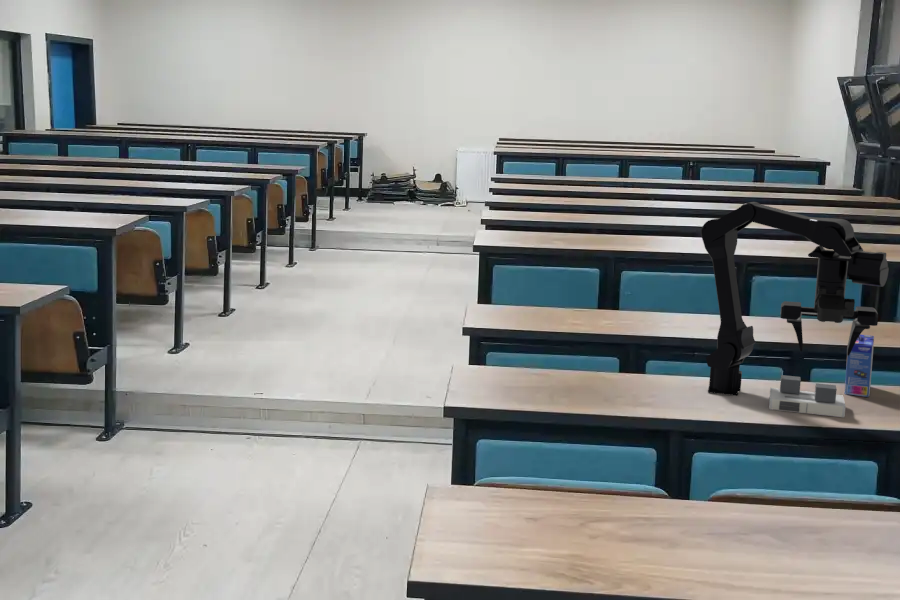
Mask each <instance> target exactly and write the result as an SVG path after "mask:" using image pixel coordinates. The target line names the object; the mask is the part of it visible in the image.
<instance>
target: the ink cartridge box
mask: <svg viewBox="0 0 900 600" xmlns="http://www.w3.org/2000/svg"><path fill="white" fill-rule="evenodd" d="M874 343H875V336H874V335H869V334H860V335H859V337H858V338H857V340H856V342H855V344H854V347H853V349H852V351H851V353H850V355H849V356H848V355H847V354H846V366H845V367H846V369H845V382H844V395H849V396H857V397H864V398H869V397H870V395H871V393H870V392H871V385H872V384H871V382H872V369H873V360H874V359H873V357H874Z"/></svg>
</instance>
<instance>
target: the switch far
mask: <svg viewBox="0 0 900 600" xmlns="http://www.w3.org/2000/svg"><path fill="white" fill-rule="evenodd" d="M801 382H802V380H801V376H796V375H795V376H794V375H793V376H792V375H783V374H780V384H779V389H780V392H785V393H794V394H800V391H801Z"/></svg>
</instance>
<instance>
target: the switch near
mask: <svg viewBox="0 0 900 600" xmlns="http://www.w3.org/2000/svg"><path fill="white" fill-rule="evenodd" d="M837 390H838V389H837V385H836V384H828V383H815V388H814V392H815V396H814V397H815V401H822V402H832V403H835V400H836V395H837Z"/></svg>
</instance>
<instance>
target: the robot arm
mask: <svg viewBox="0 0 900 600" xmlns="http://www.w3.org/2000/svg"><path fill="white" fill-rule="evenodd" d="M752 223H755V224H759V225H763V226H766V227H770V228H773V229H777V230H781V231H784V232H788V233H791V234H795V235H799V236H802V237H804V238H805V239H807V240H808V241H809V242H812V243H813V244H815V245H817V246H816V247H815V248H814V249H813V250H812V251H811V252H809V253H807V255H808V257H809V258H814V259H815V258H816V259H818V262H817V271H816V272H817V274H816V282H815V293H814V303H813V304H814V305H813V307H812V306H811V307H809V306H802V302H800V301H787V300H784V301H782V302H781V304H780V312H779V313H780V319H783V320H786V323H788V324H791V325H792V327H793V329H794V332H795V335H796V338H797V343H798V347H799V352H803V348H804V341H803V339H804V338H803V322H802V316H804V317H805V316H806V317H817V318H816V319H817V321H819V322H821V323H825V322H832V323H834V324H835V323H836V324H840V323H841V324H842V323H843V320H852V323H851V328H850V333H849V337H848V343H847V347H846V356H847V355H848V356H849V355H850V353H851V351H852V349H853V347H854V344H855V342H856V340H857V338H858V337H859V335H862V333H863V331H865V330H870V328H871V326H873V327H877V326H878V323H879V322H878V321H879V313H878V311H877V310H876V309H875V308H874V307H869V306H860V305H859V306H855V303H856V301H855V300H856V299H854V298H845V297H846V286H847V285H846V284H847V278H848V280H851V281H852V283H853V284H858V285H866V286H873V287H884V286H885V285H886V282H887V279H888V276H889V270H890V268H889V264H888V260H887V253H886V252H884V251H883V252H882V251H876V252H872V251H865V250H864V249H863V247H862V245H861V244H860V242H859V241H858V240H857V238H856V236H855V230H854V227H853V225H852V223H851V222H850V221H848V219H847V220H846V219H844V218H836V217H835V218H831V217H813V216H807V215H804V214H799V213H796V212H792V211H787V210H783V209H781V208H780V209H779V208H776V207H772V206H769V205H765V204H761V203H760V202H757V201H750V202H746V203H742V205H741V206H740V207H738V208H736V209H734V210H733V211H731V212H729V213H727V214H725V215H723V216H721V217H719V218H714V219H713V218H712V219H708V220H707V221H706V222H704V224H703V225H702V227H701V229H700V236H701V239H702V242H703V245H704V248H705V250H706V253H707V254H708V255H709V258H711V262H712V268H713V274H714V282H715V289H716V296H717V297H716V298H717V304H718V312H719V320H720V324H719V329H718V332H717V337H716V340H717V341H716V349H715V350H714V351H712V352H711V353H710V354H709V355H707V356H706V357H705V360H706V365H707V367H708V368H709V382H708V383H709V384H708V389H707V393H709V394H716V395H717V394H718V395H726V396H738V395H739V392H741V391H742V388H741V387H742V375H743V371H742V370H741V369H740V367H741V366H740V365H741V364H742V363H744V360H745V359H746V358H747V357H748V356H750V354H751V353H752V352H753V351H754V345H755V344H756V340H755V337H754V327H753V325H749V326H747V325H746V323H745V321H744V319H743V315H742V308H741V302H740V301H741V300H740V294H739V287H738V278H737V277H738V276H737V271H736V263H735V253H736V249H737V244H738V233H739V232H740V231H742V230H743V229H745V228H747V227H748V226H750V225H751V224H752Z"/></svg>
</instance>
